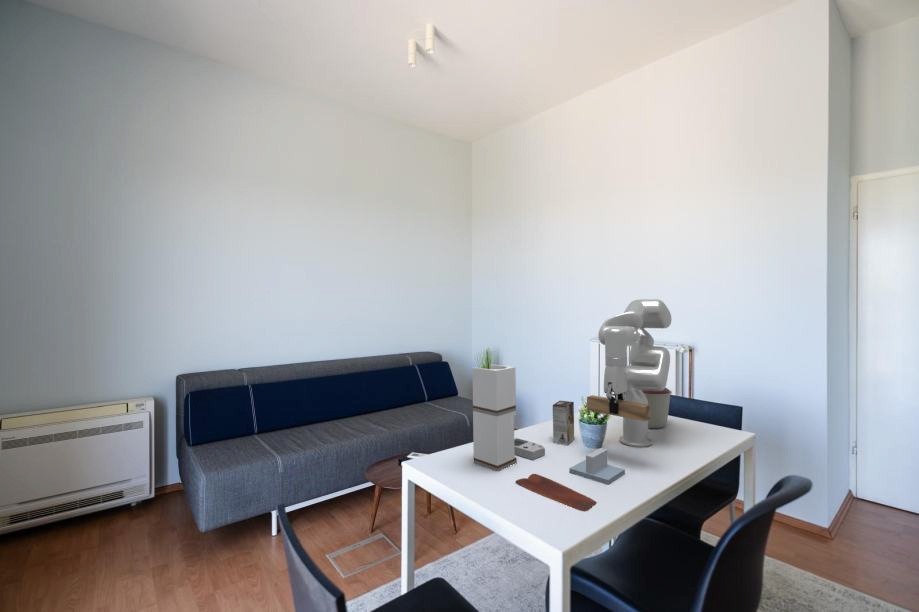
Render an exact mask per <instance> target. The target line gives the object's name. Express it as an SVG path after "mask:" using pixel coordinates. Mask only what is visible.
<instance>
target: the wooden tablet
mask: <svg viewBox="0 0 919 612" xmlns="http://www.w3.org/2000/svg"><path fill="white" fill-rule="evenodd" d="M515 482H516V483H515ZM515 482H514V483H515V484H517V485H519V486H521V487H523V488H525V489H527V490H528V491H531V492H533V493H535V492H536V493H535V494H537V495H540V496H543V497H545V498H548V499H550V500H552V501H555V502H557V503H559V504H561V503H562V505H564V506H566V505H567V506H566V507H569V508H571V507H572V509H574V510H577V511H581V512H586V511H587V512H588V511H590V510H591V509H593V507H595V506H596V505H597V504H598V502H597V501H595V500H594V499H593V498H591V497H589V496H586V495H585V494H582V493H580V492H578V491H576V490H574V489H572V488H569V487H568V486H565V485H564V484H562V483H559V482H557V481H555V480H554V479H550V478H547V477H545V476H543V475H540V474H538V473H531V474H530V475H529V476H528V478H520V479H519V478H518V479H517V480H515Z"/></svg>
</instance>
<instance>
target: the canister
mask: <svg viewBox="0 0 919 612" xmlns="http://www.w3.org/2000/svg"><path fill="white" fill-rule="evenodd" d="M642 392H643V393H644V394H645V396H646V398H647V401H648V405H650V419H649V420H648V429H662V428H664V427H666V425H667V423H668V418H669V409H670V402H671V401H670V399H671V395H672V393H673V392H672V390H670V389H669V388H667V387H665V389H664V390H662V391H651V390H642Z"/></svg>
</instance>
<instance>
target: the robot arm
mask: <svg viewBox="0 0 919 612" xmlns="http://www.w3.org/2000/svg"><path fill="white" fill-rule="evenodd" d="M671 324H672V313H671V311H670V310H669V308H668V307H667V305H666V303H665V302H664V301H663V300H660V299H658V298H657V299H655V298H654V299H652V298H651V299H649V298H647V299H635V300H632V301H631V302H630V303H628V305H627V306H626V308H625V310H624V311H623V312H622V313H619V314H617V315H615V316H612V317H610V318H607V319H606V320H605V321H604V322H603V323H602V325H601V326H600V327H599V331H598V334H597V335H598V341H599V342H600V344H601V345H603V346H604V351H605V352H604V353H605V354H604V355H605V356H604V358H605V364H604V366H605V368H604V377H603V393H604V394H606V395H605V397H606V398H608V399H609V412H610V413H613V414H618V403H617V399H618V400H624V401H630V402H636V403H642V404H648V401H647V398H646V396H645V394H644V393H643V392H642V390H651V391H662V390H664V389H665V388H667V382H668V376H669V372H670V367H671V365H670V364H671V354H670V351H669V350H668V349H667V348H666V347H664V346H655V345H654V343H655V339H654V337H653V336H652V334H650V333H649V332H648V331H647V330H646V329H667V328H669V327H670V326H671ZM628 347H630V349H629V355H628ZM628 362H629V365H628ZM650 432H651V429H650V428H648V420H647V421H640V420H635V419H630V418H625V417H622V435H621V436H619V438H618V439H619V442H620V443H622V444H623V445H626V446H630V447H637V448H645V447H650V446H652V444H653V440H652V439H651V438H649V433H650Z"/></svg>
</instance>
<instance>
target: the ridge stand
mask: <svg viewBox="0 0 919 612" xmlns="http://www.w3.org/2000/svg"><path fill="white" fill-rule="evenodd" d="M568 472H569V474H573V475H576V476H578V477H579V476H580V477H583V478H586V479H589V480H592V481H595V482H599V483H601V484H604V485H608V486H609V485H611V484H612V483H613V482H615V481H617V480H618V479H619V478H621V477H622V476H624V475H625V474H626V470H625V468H621V467H618V466H614V465H611V464H608V449H606V448H601V447H600V448H598V449H596V450H594V451H592V452H590V453H589V454H587V455H585V459H584V460H582V461H581V462H579V463H577V464H575V465H572V466H571V467H569V471H568Z"/></svg>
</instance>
